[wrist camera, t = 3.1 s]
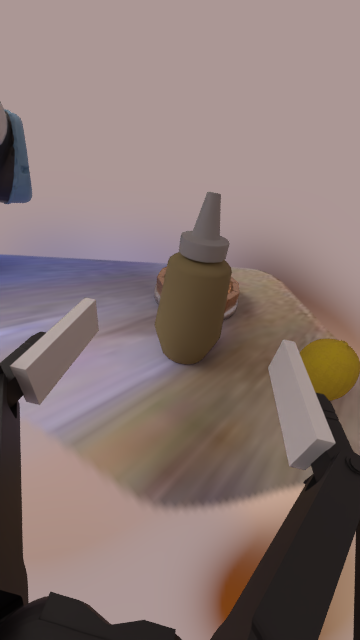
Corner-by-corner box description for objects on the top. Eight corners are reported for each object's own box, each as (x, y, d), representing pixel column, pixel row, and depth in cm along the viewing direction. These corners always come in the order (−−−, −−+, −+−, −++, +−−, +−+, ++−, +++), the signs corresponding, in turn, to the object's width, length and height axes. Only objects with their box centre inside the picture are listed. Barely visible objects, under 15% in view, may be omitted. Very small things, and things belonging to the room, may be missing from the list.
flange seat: (143, 311, 35) (144, 290, 33) (164, 274, 47) (166, 257, 45) (237, 331, 34) (245, 311, 32) (234, 288, 46) (239, 271, 44)
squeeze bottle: (225, 351, 30) (277, 202, 19) (187, 384, 24) (230, 204, 14) (180, 322, 34) (203, 186, 23) (139, 346, 28) (145, 183, 18)
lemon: (321, 380, 28) (360, 331, 23) (339, 421, 23) (391, 370, 18) (277, 370, 28) (306, 319, 23) (286, 408, 24) (324, 355, 19)
